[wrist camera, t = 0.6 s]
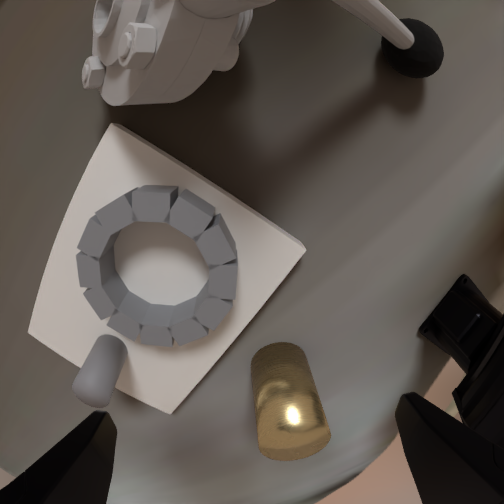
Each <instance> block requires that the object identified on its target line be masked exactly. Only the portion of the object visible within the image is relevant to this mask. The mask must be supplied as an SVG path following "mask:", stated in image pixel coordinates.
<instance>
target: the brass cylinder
mask: <svg viewBox="0 0 504 504" xmlns="http://www.w3.org/2000/svg"><path fill="white" fill-rule="evenodd" d="M251 374H252V384H253V394H254V404H255V414H256V424H257V434H258V443H259V450H260V452H261V453H262V454H263V455H264V456H266V457H268V458H270V459H274V460H280V461H290V460H298V459H302V458H305V457H308V456H311V455H313V454H315V453H317V452H319V451H320V450H321V449H323V448H324V447H325V446H326V445H327V444H328V442H329V441H330V438H331V433H330V429H329V426H328V423H327V420H326V417H325V414H324V410H323V407H322V404H321V401H320V398H319V395H318V392H317V389H316V386H315V383H314V379H313V376H312V373H311V370H310V367H309V364H308V361H307V358H306V355H305V353H304V351H303V350H302V349H301V348H300V347H298V346H297V345H294V344H292V343H287V342H278V343H273V344H270V345H267V346H265V347H263V348H261V349H260V350H259V351H258V352H257V353H256V354H255V355H254V357H253V358H252V361H251Z"/></svg>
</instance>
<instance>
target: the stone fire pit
mask: <svg viewBox="0 0 504 504" xmlns="http://www.w3.org/2000/svg"><path fill="white" fill-rule="evenodd" d="M305 251H306V248H305V247H304V245H303V244H302V242H301V241H299V240H298V239H296V238H295V237H293V236H292V235H290V234H289V233H287V232H286V231H285V230H283V229H282V228H280V227H279V226H277V225H276V224H274V223H273V222H271V221H270V220H268V219H267V218H265V217H264V216H263V215H261V214H260V213H258V212H257V211H255V210H254V209H252V208H251V207H249V206H248V205H246V204H245V203H243V202H242V201H240V200H239V199H237V198H236V197H234V196H233V195H231V194H230V193H228V192H227V191H225V190H223V189H222V188H220V187H219V186H217V185H216V184H214V183H213V182H211V181H210V180H208V179H207V178H205V177H204V176H202V175H200V174H199V173H197V172H196V171H194V170H193V169H191V168H190V167H188V166H186V165H185V164H183V163H182V162H180V161H179V160H177V159H175V158H174V157H172V156H171V155H169V154H167V153H166V152H164V151H163V150H161V149H159V148H158V147H156V146H155V145H153V144H151V143H150V142H148V141H147V140H145V139H143V138H142V137H140V136H139V135H137V134H135V133H134V132H132V131H130V130H129V129H127V128H125V127H124V126H122V125H120V124H116V123H110V125H109V127H108V129H107V130H106V132H105V134H104V136H103V138H102V139H101V141H100V143H99V145H98V147H97V149H96V150H95V152H94V154H93V156H92V158H91V160H90V162H89V164H88V166H87V168H86V170H85V172H84V174H83V176H82V178H81V180H80V183H79V185H78V187H77V189H76V191H75V193H74V196H73V198H72V200H71V203H70V205H69V207H68V210H67V212H66V214H65V217H64V219H63V222H62V224H61V227H60V229H59V232H58V234H57V237H56V240H55V243H54V245H53V248H52V251H51V254H50V257H49V260H48V262H47V265H46V269H45V272H44V275H43V278H42V281H41V285H40V288H39V291H38V295H37V298H36V302H35V306H34V310H33V314H32V318H31V322H30V326H29V330H28V333H29V334H31V335H32V336H33V337H35V338H36V339H37V340H39V341H40V342H42V343H43V344H45V345H46V346H47V347H49V348H50V349H52V350H53V351H55V352H56V353H58V354H59V355H61V356H62V357H64V358H65V359H67V360H69V361H70V362H72V363H73V364H75V365H77V366H78V367H80V368H81V369H80V371H79V373H78V375H77V377H76V378H75V380H74V382H73V384H72V389H73V392H74V394H75V395H76V396H77V397H78V398H79V399H80V400H81V401H82V402H83V403H85V404H87V405H89V406H92V407H96V408H103V407H106V406H107V405H108V404H109V401H110V398H111V396H112V393H113V390H114V388H117V389H118V390H120V391H122V392H124V393H126V394H128V395H130V396H132V397H134V398H136V399H138V400H140V401H142V402H144V403H146V404H148V405H150V406H152V407H155V408H157V409H159V410H161V411H163V412H166V413H168V414H171V413H172V412H173V411H174V410H175V409H176V408H177V406H178V405H179V404H180V403H181V402H182V401H183V400H184V399H185V397H186V396H187V395H188V394H189V393H190V392H191V391H192V389H193V388H194V387H195V386H196V385H197V384H198V382H199V381H200V380H201V379H202V378H203V377H204V375H205V374H206V373H207V372H208V371H209V370H210V368H211V367H212V366H213V365H214V364H215V363H216V361H217V360H218V359H219V358H220V357H221V355H222V354H223V353H224V352H225V351H226V350H227V348H228V347H229V346H230V345H231V344H232V342H233V341H234V340H235V339H236V338H237V336H238V335H239V334H240V333H241V331H242V330H243V329H244V328H245V327H246V325H247V324H248V323H249V322H250V321H251V319H252V318H253V317H254V316H255V314H256V313H257V312H258V311H259V309H260V308H261V307H262V306H263V305H264V303H265V302H266V301H267V300H268V298H269V297H270V296H271V295H272V293H273V292H274V291H275V290H276V288H277V287H278V286H279V285H280V283H281V282H282V281H283V279H284V278H285V277H286V276H287V274H288V273H289V272H290V271H291V269H292V268H293V267H294V265H295V264H296V263H297V262H298V260H299V259H300V258H301V256H302V255H303V254H304V253H305Z"/></svg>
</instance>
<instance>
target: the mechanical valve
mask: <svg viewBox="0 0 504 504" xmlns="http://www.w3.org/2000/svg"><path fill="white" fill-rule="evenodd" d="M274 1H276V0H97V1H96V5H95V9H94V15H93V31H94V33H93V47H92V55H93V57H89V58H87V59H86V61H85V63H84V67H83V70H82V82H83V87H84V89H93V88H98V90H99V92H100V94H101V96H102V98H103V99H104V100H105V101H106V102H107V103H108V104H110V105H112V106H120V105H138V104H156V103H174V102H177V101H180V100H183V99H184V98H186V97H187V96H189V95H190V94H192V93H193V92H194V91H195V90H196V89H197V88H198V87H199V86H200V85H202V84H203V83H204V82H205V80H206V79H207V78H208V76H209V75H210V74H211V72H212V71H213V70H216V71H228V70H230V69H231V68H232V67H233V66H234V65H235V63H236V61H237V59H238V56H239V46H238V45H239V43H240V42H241V40H242V38H243V37H244V35H245V34H246V32H247V31H248V28H249V25H250V23H251V20H252V17H253V9H254V8H258V7H261V6H265V5H268V4H270V3H272V2H274ZM331 1H333V2H334V3H336V4H338V5H339V6H341V7H342V8H344V9H345V10H347V11H348V12H350V13H351V14H353V15H354V16H356V17H357V18H359V19H360V20H362V21H363V22H365V23H366V24H367V25H369V26H370V27H371V28H373V29H374V30H376V31H377V32H378V33H380V34H381V35H382V41H381V44H382V50H383V53H384V55H385V57H386V59H387V61H388V63H389V64H390V65H391V66H392V67H393V68H394V69H395V70H396V71H398V72H399V73H401V74H403V75H405V76H408V77H413V78H424V77H428V76H430V75H432V74H434V73H435V72H436V71H437V70H438V69H439V68H440V66H441V63H442V60H443V57H444V52H443V46H442V43H441V41H440V38H439V37H438V35H437V34H436V32H435V31H434V30H433V29H432V28H431V27H429V26H428V25H426V24H425V23H423V22H421V21H419V20H415V19H410V18H407V19H398V18H397V17H396V16H395V15H394V14H392V13H391V12H390V11H389V10H388V9H387V8H386V7H385V6H384V5H383V4H382V3H381V2H380V1H378V0H331Z"/></svg>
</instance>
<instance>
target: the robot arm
mask: <svg viewBox="0 0 504 504" xmlns="http://www.w3.org/2000/svg"><path fill="white" fill-rule="evenodd" d="M419 331H420V333H421V334H422V335H423V336H425V337H426V338H427V339H429V340H430V341H431V342H433V343H434V344H435V345H437V346H438V347H439V348H441V349H442V350H443V351H445V352H446V353H447V354H449V355H451V356H452V358H453V359H454V360H455V361H456V362H457V363H458V365H459V366H460V367H461V368H462V370H463V371H464V372H465V373H466V376H465V377H464V379H463V380H462V381H461V383H460V384H459V386H458V387H457V388H455V389H454V391H453V392H452V395H453V398H454V400H455V403H456V406H457V408H458V411H459V414H460V417H461V419H462V422H463V423H461V422H460V421H458V420H456V419H455V418H454V417H452V416H451V415H449V414H447V413H446V412H444V411H443V410H441V409H440V408H438V407H437V406H435V405H434V404H432V403H431V402H429V401H428V400H426V399H424V398H423V397H421V396H420V395H418V394H417V393H415V392H410V393H406V394H403V395H402V396H401V397H400V400H399V403H398V405H397V408H396V411H395V418H396V422H397V426H398V429H399V433H400V437H401V441H402V445H403V449H404V453H405V456H406V459H407V462H408V465H409V467H410V470H411V472H412V475H413V478H414V481H415V484H416V486H417V489H418V492H419V495H420V498H421V500H422V503H423V504H504V314H502V313H500V312H499V311H498V310H497V309H496V308H494V307H493V306H492V305H491V304H490V303H489V302H488V301H487V299H486V298H485V297H484V295H483V294H482V293H481V292H480V290H479V289H478V288H477V287H476V285H475V284H474V283H473V282H472V280H471V279H470V278H469V277H468V276H467V275H465V274H463V275H461V276H460V277H459V279H458V280H457V282H456V283H455V284H454V286H453V287H452V288H451V290H450V291H449V292H448V294H447V295H446V296H445V297H444V299H443V300H442V301H441V303H440V304H439V305H438V306H437V308H436V309H435V310H434V311H433V313H432V314H431V315H430V316H429V317H428V319H427V320H426V321H425V322H424V323H423V324H422V326H421V327H420V329H419ZM116 438H117V429H116V426H115V424H114V422H113V420H112V418H111V416H110V414H109V413H108V412H106V411H100V410H96V411H94V412H93V413H91V414H90V415H89V416H88V417H87V418H86V419H85V420H83V421H82V422H81V423H80V424H79V425H78V426H77V427H75V428H74V429H73V430H72V431H71V432H70V433H68V434H67V435H66V436H65V437H64V438H63V439H62V440H60V441H59V442H58V443H57V444H56V445H55V446H53V447H52V448H51V449H50V450H49V451H48V452H46V453H45V454H44V455H43V456H42V457H41V458H39V459H38V460H37V461H36V462H35V463H34V464H32V465H31V466H30V467H29V468H28V469H26V470H25V472H23V473H22V474H20V475H19V476H18V477H17V478H16V479H14V481H12V482H11V483H9V484H8V485H7V486H5V487H4V488H2V489H1V490H0V504H106V502H107V497H108V492H109V487H110V483H111V478H112V473H113V464H114V455H115V446H116Z"/></svg>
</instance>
